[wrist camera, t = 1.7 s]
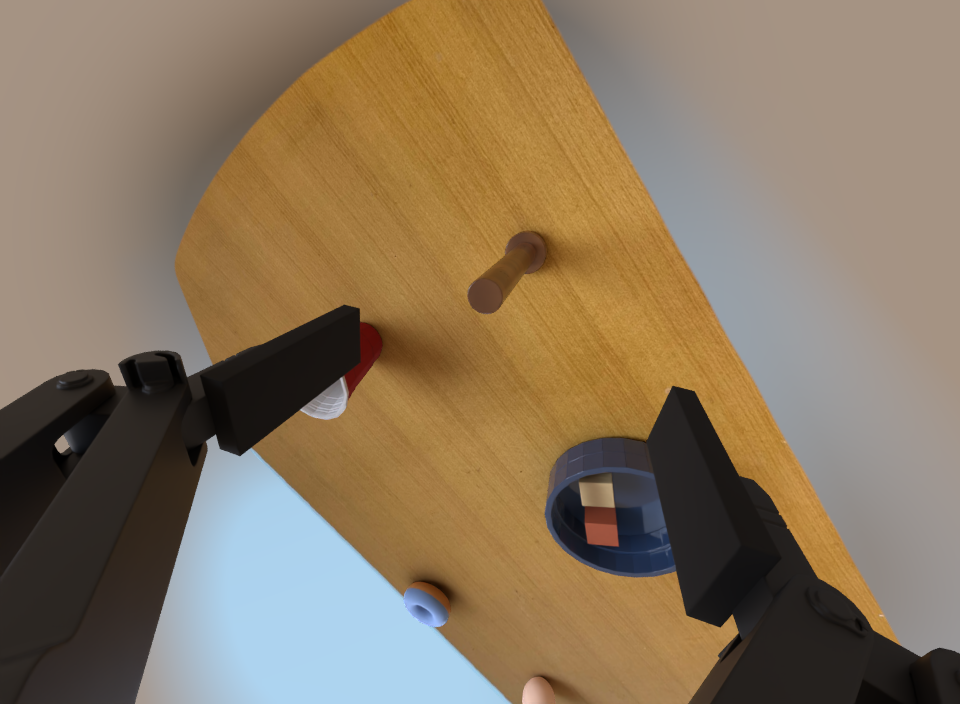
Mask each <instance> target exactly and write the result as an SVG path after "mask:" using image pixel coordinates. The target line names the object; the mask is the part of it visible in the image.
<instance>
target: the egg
mask: <svg viewBox="0 0 960 704" xmlns="http://www.w3.org/2000/svg"><path fill="white" fill-rule="evenodd" d="M522 704H555V696H554V692H553V690H552V687H551V686H550V684H549V683H548V682H547V681H546V680H545V679H544V678H542V677H533V678H532V679H530V680H529V681H528V682H527V684H526V685H525V688H524V690H523V698H522Z"/></svg>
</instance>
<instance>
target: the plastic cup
mask: <svg viewBox="0 0 960 704" xmlns="http://www.w3.org/2000/svg"><path fill="white" fill-rule="evenodd" d="M382 346H383V345H382V340H381V337H380V335H379V333H378V332H377V331H376V330H375V329H374V328H373V327H372V326H371V325H368V324H366V323H362V322H360V347H361V363H360V364H358V365H357V366H356V367H354V368H353V369H352V370H351V371H349V372H348V373H347V374H345V375H344V376H343V377H342V378H340V379H339V380H338V381H336V382H335V383H334V384H332V385H331V386H330V387H329V388H327V389H326V390H325V391H323V392H322V393H321V394H320V395H318V396H317V397H316V398H314V399H313V400H312V401H311V402H309V403H308V404H307V405H305V406H304V407H303V408H302V409H300V410H301V411H302V412H304V413H306V414H308V415H310V416H312V417H315V418H320V419H325V420H328V419H332V418H336V417H338V416H339V415H340V414H341V413H342V412H343V411H344V410H345V408H346V407H347V403H348V400H349V398H350V396H351V394H352V393H353V391H354V390H355V388H356V386H357V385H358V384H359V382H360V381H361V380H362V379H363V377H364V376H365V375H366V373H367V372H368V371H369V369H370V368H371V367H372V366H373V363H374V362H375V360H376V359H377V358H378V357H379V355H380V353H381V351H382Z"/></svg>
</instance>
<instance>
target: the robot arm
mask: <svg viewBox="0 0 960 704" xmlns="http://www.w3.org/2000/svg"><path fill="white" fill-rule="evenodd" d="M360 363H361V347H360V308H355V307H351V306H347V305H343V306H341V307H339V308H336V309H334V310H332V311H330V312H328V313H326V314H324V315H322V316H320V317H318V318H316V319H314V320H312V321H310V322H308V323H306V324H303V325H301V326H299V327H297V328H295V329H293V330H291V331H289V332H287V333H285V334H283V335H281V336H279V337H277V338H275V339H273V340H270V341H268V342H266V343H264V344H262V345H258V346H254V347H250V348H248V349H246V350H244V351H242V352H239V353H237V354H236V356H235V355H233V356H231V357H229V358H227V359H226V360H225V361H221V362H218V363H216V364H214V365H212V366H210V367H208V368H206V369H204V370H202V371H200V372H198V373H195V374H194V375H191V376H189V377H187V376H186V373H185V369H184V366H183V362H182V359H181V356H180V355H179V354H178V353H176V352H171V351H151V352H144V353H141V354H137V355H133V356H131V357H129V358H126V359H124V360H123V361H121V362H120V363H119V364H118V365H119V368H120V370H121V373H122V375H123V378H124V380H125V383H126V386H114V385H113V383H112V380H111V378H110V376H109V373H107V372H105V371H103V370H95V369H92V370H77V371H71V372H67V373H66V374H63V375H59V376H56V377H54V378H52V379H50V380H48V381H46V382H44V383H43V384H41V385H40V386H38V387H36V388H35V389H33V390H31V391H30V392H28V393H27V394H25V395H23V396H22V397H20V398H19V399H17V400H15V401H14V402H12V403H11V404H9V405H7V406H6V407H4V408H3V409H1V410H0V704H135V700H136V697H137V693H138V690H139V686H140V683H141V679H142V676H143V673H144V669H145V666H146V662H147V659H148V655H149V652H150V648H151V645H152V641H153V638H154V634H155V631H156V628H157V624H158V620H159V617H160V614H161V610H162V606H163V603H164V600H165V596H166V593H167V589H168V586H169V582H170V579H171V575H172V572H173V569H174V565H175V562H176V558H177V555H178V551H179V548H180V544H181V541H182V537H183V534H184V530H185V527H186V523H187V520H188V517H189V513H190V510H191V506H192V503H193V499H194V495H195V492H196V489H197V485H198V482H199V478H200V475H201V471H202V468H203V464H204V461H205V458H206V454H207V443H206V441H207V440H208V439H210V438H211V437H213V436H214V435H215V434H216V436H217V440H218V444H219V447H220V449H222V450H224V451H228V452H230V453H233V454H236V455H238V456H241V455H242V454H243V453H245V452H246V451H247V450H248V449H250V448H251V447H253V446H254V445H255V444H256V443H258V442H259V441H260V440H262V439H263V438H264V437H265V436H267V435H268V434H269V433H271V432H272V431H273V430H274V429H276V428H277V427H278V426H280V425H281V424H282V423H283V422H285V421H286V420H287V419H289V418H290V417H291V416H293V415H294V414H295V413H296V412H298V411H299V410H300V409H302V408H303V407H304V406H305V405H307V404H308V403H309V402H311V401H312V400H313V399H314V398H316V397H317V396H318V395H320V394H321V393H322V392H323V391H325V390H326V389H327V388H329V387H330V386H331V385H332V384H334V383H335V382H336V381H338V380H339V379H340V378H342V377H343V376H344V375H345V374H347V373H348V372H349V371H351V370H352V369H353V368H354V367H356V366H357V365H358V364H360ZM63 434H64V436H65V438H66V440H67V442H68V444H69V446H70V447H69V448H68V449H67V450H65V451H64V452H63V453H59V452H58V451H57V449H56V447H55V445H54V444H55V443H56V441H57V440H58V439H59V438H60V437H61V436H62V435H63ZM646 442H647V447H648V451H649V455H650V460H651V464H652V468H653V473H654V477H655V481H656V486H657V490H658V494H659V499H660V503H661V507H662V511H663V516H664V520H665V524H666V529H667V533H668V537H669V542H670V546H671V550H672V555H673V559H674V563H675V567H676V572H677V576H678V580H679V585H680V589H681V593H682V598H683V602H684V606H685V611H686V615H687V616H690V617H692V618H695V619H698V620H701V621H704V622H706V623H709V624H712V625H715V626H718V627H721V626H722V625H723V624H724V623H725V622H726V621H727V620H728V618H729V617H730V616H731V615H732V614H733V616H734V619H735V622H736V625H737V628H738V631H739V633H738V634H737V636H736V637H735V638H734V639H733V640H732V641H731V642H730V643H729V644H728V645H727V646H726V647H725V648H724V649H723V650H722V651H721V652H720V653H719V655H718V657H719V658H720V659H719V660H718V662H717V663H716V664H715V666H714V667H713V669H712V670H711V672H710V673H709V675H708V676H707V677H706V679H705V680H704V682H703V683H702V685H701V686H700V688H699V689H698V691H697V692H696V693H695V695H694V696H693V698H692V699H691V701H690V702H689V704H960V654H959V653H957V652H955V651H952V650H947V649H943V648H937V649H935V650H932V651H930V652H929V653H927V654H926V655H924V656H923V657H920V656H918V655H916V654H914V653H913V652H911V651H909V650H907V649H905V648H904V647H902V646H900V645H898V644H896V643H895V642H893V641H891V640H889V639H887V638H886V637H884V636H882V635H880V634H879V633H877V632H875V631H873V629H872V628H871V626H870V624H869V622H868V620H867V619H866V617H865V616H864V615H863V614H862V612H861V611H860V610H859V609H858V608H857V607H856V605H855V604H854V603H853V602H852V601H850V600H849V599H848V598H847V597H846V596H844V595H843V594H842V593H841V592H840V591H839V590H837V589H835V588H834V587H832V586H831V585H829V584H827V583H826V582H824V581H822V580H820V579H818V578H817V576H816V574H815V572H814V571H813V569H812V567H811V566H810V564H809V562H808V561H807V559H806V557H805V555H804V554H803V552H802V550H801V549H800V547H799V545H798V544H797V542H796V540H795V539H794V537H793V535H792V533H791V532H790V530H789V529H787V525H786V523H785V522H784V520H783V518H782V516H781V515H779V511H778V510H777V508H776V506H775V505H774V503H773V501H772V499H771V498H770V496H769V495H768V494H767V493H766V492H765V491H764V490H763V489H762V488H761V487H760V486H759V485H758V484H757V483H756V482H755V481H754V480H752V479H748V478H744V477H741V476H739V475H738V473H737V471H736V469H735V467H734V466H733V464H732V462H731V460H730V458H729V456H728V454H727V452H726V450H725V448H724V446H723V445H722V443H721V441H720V439H719V437H718V435H717V433H716V431H715V429H714V427H713V426H712V424H711V422H710V420H709V418H708V416H707V414H706V412H705V410H704V408H703V406H702V405H701V403H700V401H699V399H698V397H697V395H696V393H695V391H692V390H688V389H684V388H680V387H675V386H672V388H671V390H670V393H669V395H668V397H667V399H666V401H665V403H664V405H663V407H662V410H661V412H660V414H659V416H658V418H657V420H656V422H655V424H654V427H653V429H652V431H651V433H650V435H649V437H648V439H647V441H646Z"/></svg>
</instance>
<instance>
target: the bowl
mask: <svg viewBox="0 0 960 704" xmlns="http://www.w3.org/2000/svg"><path fill="white" fill-rule="evenodd" d="M605 472H612V479H613V490H614V501H615V509H616V519H617V529H618V541H619V547H617V546H606V545H595V544H588V541H587V534H586V528H585V506H582V501H581V494H580V487H579V479H580V478H582V477H585V476H588V475H593V474H599V473H605ZM545 518H546V523H547V527H548V529H549V531H550V533H551V535H552V537H553V538H554V540H555V541H556V542H557V543H558V544H559V545H560V546H561V547H562V549H563V550H564V551H565V552H567V553H568V554H569V555H571V556H572V557H574V558H575V559H577V560H578V561H579V562H581V563H583V564H585V565H588V566H590V567H592V568H594V569H596V570H599V571H603V572H606V573H610V574H613V575H618V576H627V577H655V576H660V575H664V574H668V573H672V572H675V571H676V567H675V563H674V559H673V555H672V550H671V546H670V542H669V537H668V533H667V529H666V524H665V520H664V516H663V511H662V507H661V503H660V499H659V494H658V490H657V486H656V481H655V477H654V473H653V468H652V464H651V460H650V455H649V451H648V447H647V443H645V442H642V441H636V440H631V439H626V438H601V439H596V440H592V441H587V442H583V443H581V444H579V445H577V446H575V447H573V448H571V449H569V450H567V451H566V452H565V453H564V454H563V455H562V456H561V457H560V458H558V459H557V461H556V463H555V465H554V466H553V468H552V470H551V472H550V478H549V484H548V492H547V499H546V507H545Z"/></svg>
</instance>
